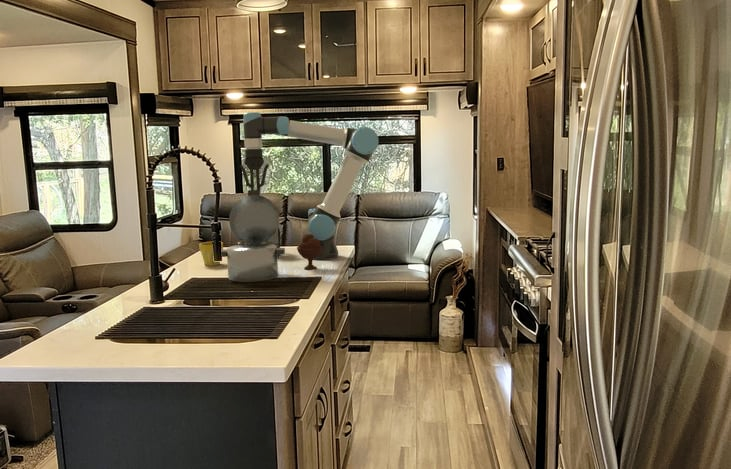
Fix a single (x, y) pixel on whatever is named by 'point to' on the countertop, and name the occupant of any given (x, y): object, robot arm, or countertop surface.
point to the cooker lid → (254, 219)
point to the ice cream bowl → (309, 249)
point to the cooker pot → (252, 262)
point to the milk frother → (276, 239)
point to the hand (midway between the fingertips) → (256, 202)
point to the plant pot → (208, 253)
